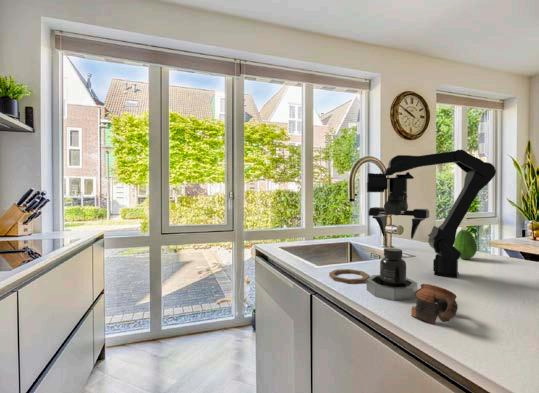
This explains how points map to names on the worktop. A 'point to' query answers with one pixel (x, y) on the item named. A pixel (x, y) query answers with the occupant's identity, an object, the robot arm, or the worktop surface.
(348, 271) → the walnut ring
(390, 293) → the hub socket
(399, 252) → the supplement bottle
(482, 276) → the worktop surface
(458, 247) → the avocado
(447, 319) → the pottery mug
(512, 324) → the worktop surface
